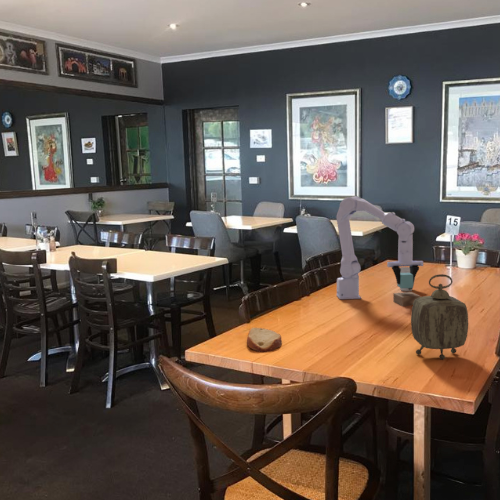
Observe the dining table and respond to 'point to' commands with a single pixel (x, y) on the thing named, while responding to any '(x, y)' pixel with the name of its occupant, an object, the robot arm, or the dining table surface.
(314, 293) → the dining table surface
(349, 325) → the dining table surface
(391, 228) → the robot arm
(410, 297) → the brown block
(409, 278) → the teal block
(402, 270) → the cup
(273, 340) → the slice of bread
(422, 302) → the tabletop clock
